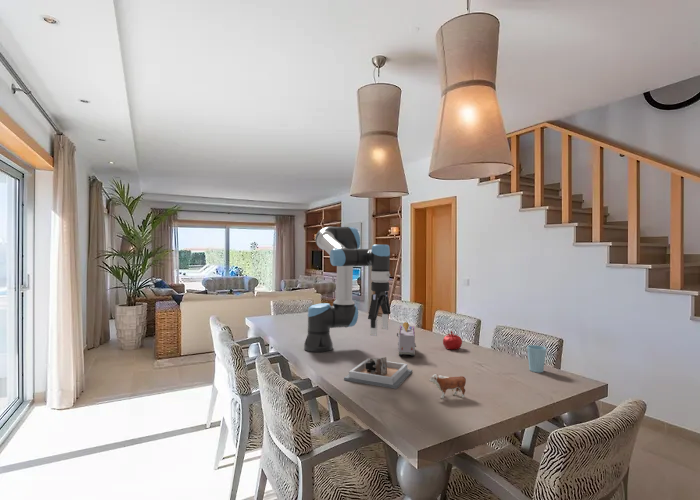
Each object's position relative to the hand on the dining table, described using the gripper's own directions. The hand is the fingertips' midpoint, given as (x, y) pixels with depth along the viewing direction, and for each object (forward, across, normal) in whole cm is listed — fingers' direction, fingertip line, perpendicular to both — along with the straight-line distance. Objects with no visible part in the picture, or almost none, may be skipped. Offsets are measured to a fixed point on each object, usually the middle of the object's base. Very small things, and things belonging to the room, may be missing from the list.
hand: (379, 332), depth 158 cm
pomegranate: (+19, +60, -20) cm, 66 cm away
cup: (+18, +38, -60) cm, 73 cm away
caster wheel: (+17, 0, +1) cm, 17 cm away
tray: (+18, 0, 0) cm, 18 cm away
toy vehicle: (+19, +40, 0) cm, 44 cm away
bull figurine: (+18, -10, -30) cm, 37 cm away
